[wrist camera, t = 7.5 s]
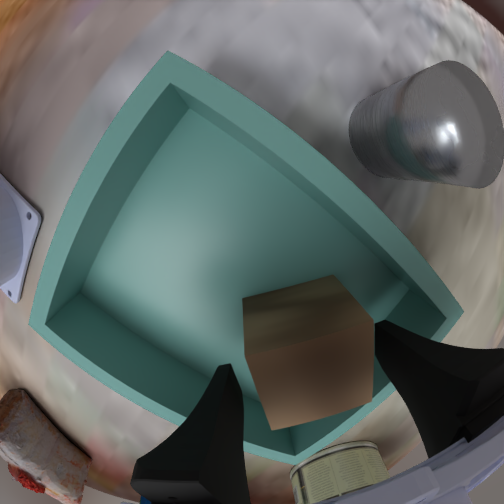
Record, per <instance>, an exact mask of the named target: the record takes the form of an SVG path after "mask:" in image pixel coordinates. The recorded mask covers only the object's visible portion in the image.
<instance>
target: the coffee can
mask: <svg viewBox="0 0 504 504" xmlns="http://www.w3.org/2000/svg"><path fill="white" fill-rule="evenodd" d="M290 478H291V482H292V487H293V492H294V498H295V503H296V504H312V503H316V502H320V501H324V500H328V499H332V498H335V497H339V496H342V495H345V494H348V493H351V492H354V491H357V490H360V489H363V488H366V487H369V486H371V485H374V484H376V483H379V482H381V481H384V480H386V479H388V478H391V477H390V475H389V473H388V471H387V469H386V466H385V464H384V462H383V460H382V457H381V455H380V453H379V451H378V447H377V445H376V444H374V443H372V442H368V441H357V442H350V443H344V444H340V445H337V446H333V447H330V448H327V449H325V450H322V451H320V452H317V453H315V454H313V455H311V456H310V457H308V458H307V459H305V460H303V461H302V462H300V463H298V464H297V465H295V466H294V467H293V469H292V470H291V472H290Z"/></svg>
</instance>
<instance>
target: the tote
mask: <svg viewBox="0 0 504 504" xmlns="http://www.w3.org/2000/svg"><path fill="white" fill-rule="evenodd" d="M329 275H334V276H335V277H336V278H337V279H338V280H339V281H340V282H341V283H342V284H343V286H344V287H345V288H346V289H347V290H348V291H349V292H350V293H351V295H352V296H353V297H354V298H355V299H356V300H357V301H358V302H359V304H360V305H361V306H362V307H363V308H364V309H365V310H366V312H367V313H368V314H369V315H370V316H371V317H372V318H373V320H374V373H373V393H372V402H369V403H367V404H364V405H361V406H359V407H356V408H353V409H350V410H347V411H344V412H341V413H338V414H335V415H332V416H328V417H325V418H322V419H318V420H314V421H311V422H307V423H303V424H299V425H295V426H291V427H286V428H282V429H277V430H271V427H270V425H269V422H268V420H267V417H266V414H265V412H264V409H263V406H262V404H261V401H260V398H259V395H258V393H257V390H256V387H255V384H254V382H253V379H252V376H251V373H250V370H249V367H248V365H247V362H246V359H245V355H244V332H243V306H242V298H245V297H249V296H253V295H257V294H261V293H265V292H269V291H273V290H277V289H281V288H285V287H289V286H293V285H296V284H300V283H304V282H308V281H311V280H315V279H319V278H322V277H326V276H329ZM463 312H464V311H463V309H462V308H461V306H460V305H459V303H458V302H457V301H456V299H455V298H454V296H453V295H452V294H451V292H450V291H449V290H448V288H447V287H446V286H445V284H444V283H443V282H442V280H441V279H440V278H439V276H438V275H437V274H436V273H435V271H434V270H433V269H432V267H431V266H430V265H429V264H428V263H427V261H426V260H425V259H424V258H423V256H422V255H421V254H420V253H419V252H418V250H417V249H416V248H415V247H414V246H413V245H412V244H411V242H410V241H409V240H408V239H407V238H406V237H405V236H404V234H403V233H402V232H401V231H400V230H399V229H398V228H397V227H396V226H395V225H394V223H393V222H392V221H391V220H390V219H389V218H388V217H387V216H386V215H385V214H384V213H383V212H382V211H381V210H380V209H379V208H378V207H377V206H376V205H375V204H374V203H373V202H372V201H371V200H370V199H369V198H368V197H367V196H366V195H365V194H364V193H363V192H362V191H361V190H360V189H359V188H358V187H357V186H356V185H355V184H354V183H353V182H352V181H351V180H350V179H349V178H347V177H346V176H345V175H344V174H343V173H342V172H341V171H340V170H339V169H338V168H336V167H335V166H334V165H333V164H332V163H331V162H330V161H328V160H327V159H326V158H325V157H324V156H323V155H322V154H320V153H319V152H318V151H317V150H316V149H314V148H313V147H312V146H311V145H310V144H308V143H307V142H306V141H305V140H303V139H302V138H301V137H300V136H298V135H297V134H296V133H295V132H293V131H292V130H291V129H290V128H288V127H287V126H286V125H284V124H283V123H282V122H280V121H279V120H278V119H276V118H275V117H274V116H272V115H271V114H270V113H268V112H267V111H265V110H264V109H263V108H261V107H260V106H258V105H257V104H256V103H254V102H253V101H251V100H250V99H248V98H247V97H245V96H244V95H242V94H241V93H239V92H238V91H236V90H235V89H233V88H232V87H230V86H229V85H227V84H225V83H224V82H222V81H221V80H219V79H217V78H216V77H214V76H212V75H211V74H209V73H207V72H206V71H204V70H202V69H201V68H199V67H197V66H195V65H194V64H192V63H190V62H188V61H186V60H185V59H183V58H181V57H179V56H177V55H175V54H173V53H172V52H170V51H167V52H166V53H165V54H164V55H163V56H162V57H161V59H160V60H159V61H158V62H157V63H156V64H155V65H154V67H153V68H152V69H151V70H150V71H149V73H148V74H147V75H146V76H145V77H144V79H143V80H142V81H141V82H140V84H139V85H138V86H137V88H136V89H135V90H134V91H133V93H132V94H131V95H130V97H129V98H128V100H127V101H126V102H125V104H124V105H123V107H122V108H121V109H120V111H119V112H118V114H117V115H116V117H115V118H114V120H113V121H112V123H111V124H110V126H109V127H108V129H107V130H106V132H105V134H104V135H103V137H102V138H101V140H100V142H99V143H98V145H97V147H96V148H95V150H94V152H93V154H92V155H91V157H90V159H89V161H88V163H87V164H86V166H85V168H84V170H83V172H82V174H81V176H80V178H79V180H78V182H77V184H76V186H75V188H74V190H73V192H72V194H71V196H70V198H69V200H68V203H67V205H66V207H65V209H64V212H63V214H62V216H61V219H60V221H59V224H58V226H57V229H56V231H55V234H54V236H53V239H52V242H51V245H50V247H49V250H48V253H47V256H46V259H45V262H44V265H43V269H42V272H41V275H40V279H39V282H38V286H37V289H36V293H35V297H34V301H33V306H32V310H31V315H30V319H29V324H28V325H30V326H31V327H32V328H33V329H34V330H35V331H36V332H37V333H38V334H39V335H40V336H42V337H43V338H44V339H45V340H46V341H47V342H48V343H50V344H51V345H52V346H53V347H54V348H56V349H57V350H58V351H59V352H60V353H62V354H63V355H64V356H65V357H67V358H68V359H69V360H71V361H72V362H73V363H74V364H76V365H77V366H79V367H80V368H81V369H83V370H84V371H85V372H87V373H88V374H90V375H91V376H92V377H94V378H95V379H97V380H98V381H100V382H101V383H103V384H104V385H106V386H107V387H109V388H110V389H112V390H114V391H115V392H117V393H118V394H120V395H122V396H123V397H125V398H127V399H128V400H130V401H132V402H134V403H135V404H137V405H139V406H141V407H142V408H144V409H146V410H148V411H150V412H152V413H154V414H156V415H158V416H159V417H161V418H163V419H165V420H168V421H170V422H172V423H174V424H176V425H178V426H180V425H181V424H182V423H183V422H184V421H185V420H186V418H187V417H188V416H189V415H190V413H191V412H192V411H193V409H194V408H195V406H196V405H197V403H198V402H199V400H200V399H201V397H202V395H203V394H204V392H205V390H206V388H207V387H208V385H209V383H210V381H211V379H212V377H213V375H214V373H215V371H216V369H217V367H218V366H219V365H224V364H229V363H231V365H232V367H233V370H234V373H235V375H236V378H237V380H238V382H239V385H240V387H241V390H242V394H243V403H244V440H243V448H244V451H245V452H248V453H251V454H254V455H258V456H261V457H265V458H268V459H272V460H276V461H280V462H284V463H288V464H292V465H297V464H298V463H300V462H302V461H303V460H305V459H307V458H308V457H310V456H311V455H313V454H315V453H316V452H318V451H319V450H321V449H322V448H324V447H325V446H327V445H328V444H330V443H331V442H333V441H334V440H335V439H337V438H338V437H340V436H341V435H342V434H344V433H345V432H346V431H348V430H349V429H350V428H352V427H353V426H354V425H356V424H357V423H358V422H359V421H361V420H362V419H363V418H364V417H366V416H367V415H368V414H369V413H370V412H372V411H373V410H374V409H375V408H376V407H377V406H379V405H380V404H381V403H382V402H383V401H384V400H385V399H386V398H388V397H389V396H390V395H391V394H392V393H393V392H394V391H395V390H396V388H395V387H394V385H393V384H392V383H391V381H390V380H389V378H388V377H387V375H386V374H385V372H384V371H383V370H382V368H381V366H380V364H379V362H378V360H377V358H376V356H375V323H377V322H380V321H382V320H388V321H390V322H392V323H394V324H396V325H398V326H400V327H403V328H405V329H407V330H409V331H411V332H413V333H416V334H418V335H421V336H423V337H426V338H428V339H431V340H434V341H437V342H441V341H442V340H443V338H444V337H445V336H446V335H447V334H448V332H449V331H450V330H451V328H452V327H453V326H454V325H455V323H456V322H457V321H458V319H459V318H460V316H461V315H462V314H463Z"/></svg>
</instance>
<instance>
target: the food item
mask: <svg viewBox="0 0 504 504" xmlns="http://www.w3.org/2000/svg"><path fill="white" fill-rule="evenodd" d="M0 456H1V457H2V458H3V459H4V460H5V461H6V462H7V463H8V469H9V472H10V473H11V475H12V476H13V478H12V480H16V481H19V482H20V483H22V486H23V487H25V488H28V489H30V490H34V491H35V492H36V493H38V492H40V493H44V492H45V493H47V494H48V495H50V496H52V497H53V498H55V499H57V500H59V501H60V502H62V503H64V504H80V503H81V500H82V497H83V495H82V493H83V490H84V484H85V483H86V482H87V481H86V477H87V475H88V470H89V467H90V465H91V462H92V459H91V458H89V457H88V456H87V455H86V454H84V453H83V452H82V451H81V450H79V449H78V448H77V447H76V446H75V445H74V444H72V443H71V442H70V441H69V440H68V439H67V438H65V436H64V435H63V434H62V433H61V432H60V431H59V430H58V429H57V428H56V427H55V426H54V425H53V424H52V423H51V422H50V420H49V419H48V418H47V417H46V416H45V415H44V414H43V413H42V411H41V410H40V409H39V408H38V407H37V406H36V405H35V403H34V402H33V401H32V400H31V398H30V397H29V396H28V394H27V393H26V392H25V391H24V390H19V389H17V390H12V391H8V392H7V393H6V394H5V395H4V396H3V397H2V399H1V400H0Z"/></svg>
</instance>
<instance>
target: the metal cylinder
mask: <svg viewBox="0 0 504 504" xmlns="http://www.w3.org/2000/svg"><path fill="white" fill-rule="evenodd" d="M349 137H350V142H351V145H352V148H353V150H354V153H355V154H356V156H357V158H358V159H359V161H360V162H361V163H362V164H363V165H364V167H365V168H367V169H368V170H369V171H370V172H372V173H373V174H375V175H377V176H380V177H383V178H390V179H403V180H415V181H425V182H434V183H443V184H451V185H458V186H465V187H472V188H484V187H487V186H488V185H490V184H491V183H492V182H493V181H494V180H495V179H496V177H497V176H498V174H499V172H500V170H501V167H502V164H503V159H504V129H503V124H502V120H501V116H500V113H499V110H498V107H497V105H496V103H495V101H494V99H493V97H492V95H491V93H490V91H489V90H488V88H487V87H486V85H485V84H484V82H483V81H482V80H481V79H480V78H479V77H478V76H477V75H476V74H475V73H474V72H473V71H472V70H471V69H469V68H468V67H466V66H465V65H463V64H461V63H459V62H456V61H449V60H448V61H442V62H440V63H438V64H435V65H433V66H431V67H429V68H426V69H424V70H422V71H420V72H418V73H416V74H413V75H411V76H409V77H407V78H405V79H403V80H401V81H399V82H397V83H395V84H393V85H391V86H389V87H387V88H385V89H383V90H381V91H379V92H377V93H375V94H373V95H372V96H370V97H368V98H366V99H364V100H362V101H361V102H360V103H359V104H358V105H357V106H356V107H355V109H354V110H353V112H352V114H351V117H350V122H349Z"/></svg>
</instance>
